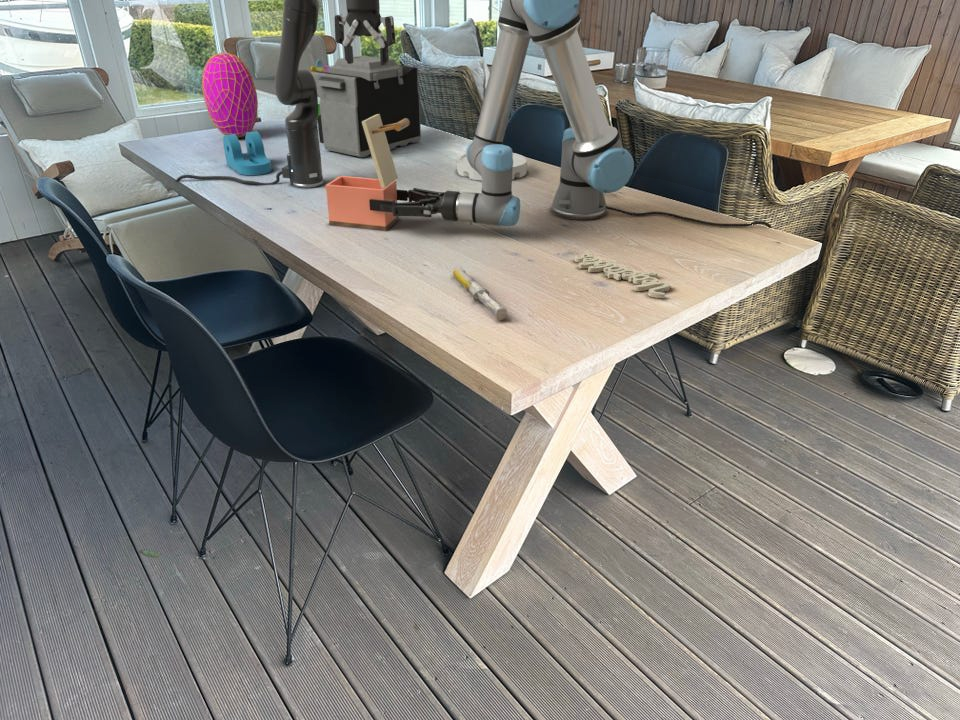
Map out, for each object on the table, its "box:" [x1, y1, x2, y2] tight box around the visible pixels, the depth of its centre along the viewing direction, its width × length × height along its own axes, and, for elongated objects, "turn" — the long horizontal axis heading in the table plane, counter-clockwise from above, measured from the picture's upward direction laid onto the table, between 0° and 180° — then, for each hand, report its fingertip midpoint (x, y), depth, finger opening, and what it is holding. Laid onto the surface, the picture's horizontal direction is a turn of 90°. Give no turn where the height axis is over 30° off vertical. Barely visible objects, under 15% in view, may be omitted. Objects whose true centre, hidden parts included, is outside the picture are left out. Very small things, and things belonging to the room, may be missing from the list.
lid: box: [362, 114, 410, 188], centre depth 172 cm, size 16×9×9 cm
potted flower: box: [309, 58, 332, 122], centre depth 288 cm, size 9×8×25 cm
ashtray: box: [456, 152, 528, 182], centre depth 228 cm, size 23×23×4 cm
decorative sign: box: [574, 252, 671, 299], centre depth 155 cm, size 26×1×10 cm
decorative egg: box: [201, 52, 259, 139], centre depth 260 cm, size 19×19×30 cm
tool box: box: [311, 55, 422, 159], centre depth 250 cm, size 37×22×30 cm, turn 144°
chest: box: [325, 175, 399, 232], centre depth 182 cm, size 16×9×11 cm, turn 75°
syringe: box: [452, 266, 509, 321], centre depth 145 cm, size 25×4×3 cm, turn 21°
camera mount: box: [222, 131, 272, 176], centre depth 226 cm, size 18×10×10 cm, turn 35°
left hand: (366, 64), depth 164 cm, fingers open, 8 cm apart
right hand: (377, 199), depth 180 cm, fingers closed on chest, 9 cm apart
